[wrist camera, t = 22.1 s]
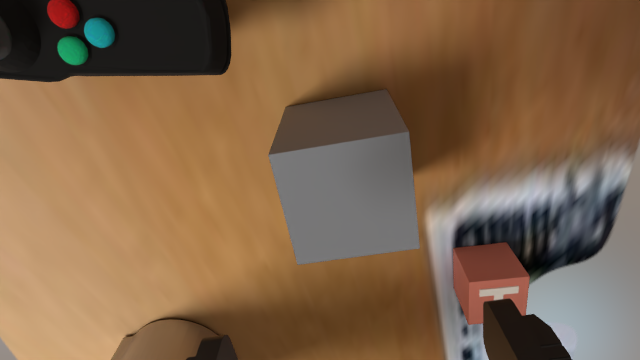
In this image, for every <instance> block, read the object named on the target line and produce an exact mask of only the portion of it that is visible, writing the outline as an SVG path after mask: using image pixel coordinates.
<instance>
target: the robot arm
mask: <svg viewBox="0 0 640 360" xmlns="http://www.w3.org/2000/svg"><path fill="white" fill-rule="evenodd" d="M483 338H484V345H485V349H486V352H487V355H488V358H489V360H572V359H571V357H570V355H569V353H568V352H567V350H566V349H565V348H564V346H562V344H561V342H560V340H559V339H558V337H557V336H556V334H555V333H554V331H553V330H552V328H551V327H550V326H549V325H547V324H546V323H545V322H543V321H542V320H541V319H539V318H538V317H537V316H536V315H534V314H531V315H523V316H522V315H521V313H520V312H519V310H518V308H517V307H516V305H515V303H514V302H513V301H512V300H511V299H510V298H508V299H500V300H493V301H485V302H484V303H483ZM111 360H238V358H237V355H236V353H235V350H234V348H233V345H232V343H231V340H230V338H229V336H228V335H221V336H218V335H216V334H215V333H214V332H213V331H211V330H209V329H207V328H206V327H204V326H202V325H199V324H196V323H193V322H189V321H184V320H172V319H168V320H160V321H156V322H153V323H150V324H148V325H146V326H144V327H143V328H141V329H140V330H139V331H138V332H137V333H136V334H135V335H134V336H131V337H124V338H123V340H122V341H121V343H120V345H119V347H118V348H117V350H116V352H115V353H114V355H113V357H112V359H111Z"/></svg>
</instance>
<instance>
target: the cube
mask: <svg viewBox="0 0 640 360" xmlns="http://www.w3.org/2000/svg"><path fill="white" fill-rule="evenodd" d="M453 274H454V290H455V292H456V295H457V297H458V300H459V302H460V305H461V307H462V310H463V312H464V315H465V317H466V320H467V322H468V325H470V324H481V323H483V303H484V302H485V301H493V300H500V299H508V298H510V299H511V300H512V301H513V302H514V303H515V305H516V307H517V308H518V310H519V312H520V313H521V315H522V316H523V315H526V307H527V297H528V288H529V278H530V276H529V275H528V273H527V272H526V270H525V269H524V267H523V266H522V264H521V263H520V262H519V260H518V259H517V257H516V256H515V254H514V253H513V251H512V250H511V248H510V247H509V245H508V244H507V242H506V243H496V244H487V245H478V246H469V247H459V248H453Z"/></svg>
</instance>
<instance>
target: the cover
mask: <svg viewBox="0 0 640 360" xmlns="http://www.w3.org/2000/svg"><path fill="white" fill-rule="evenodd" d="M269 159H270V163H271V167H272V170H273V174H274V178H275V182H276V185H277V189H278V193H279V197H280V200H281V204H282V208H283V212H284V215H285V219H286V223H287V227H288V230H289V234H290V238H291V242H292V245H293V249H294V253H295V257H296V260H297V264H298V265H300V264H307V263H315V262H322V261H330V260H337V259H344V258H352V257H359V256H367V255H374V254H382V253H389V252H396V251H404V250H411V249H419V248H420V246H419V235H418V224H417V213H416V202H415V191H414V180H413V169H412V158H411V147H410V136H409V130H408V129H407V127H406V125H405V123H404V121H403V119H402V117H401V115H400V114H399V112H398V110H397V108H396V106H395V104H394V102H393V100H392V98H391V97H390V95H389V93H388V91H387V89H385V90H379V91H373V92H368V93H362V94H357V95H351V96H345V97H340V98H334V99H329V100H323V101H317V102H312V103H306V104H301V105H295V106H289V107H286V108H285V111H284V113H283V116H282V119H281V122H280V124H279V127H278V130H277V133H276V135H275V138H274V141H273V144H272V146H271V149H270V152H269Z"/></svg>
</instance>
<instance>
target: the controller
mask: <svg viewBox="0 0 640 360" xmlns="http://www.w3.org/2000/svg"><path fill="white" fill-rule="evenodd" d="M230 59H231V30H230V22H229V15H228V8H227V4H226V0H0V78H2V79H15V80H28V81H41V82H56V81H61V80H64V79H66V78H68V77H71V76H182V75H222V74H223V73H225V72H226V70H227V69H228V67H229V64H230Z"/></svg>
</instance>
